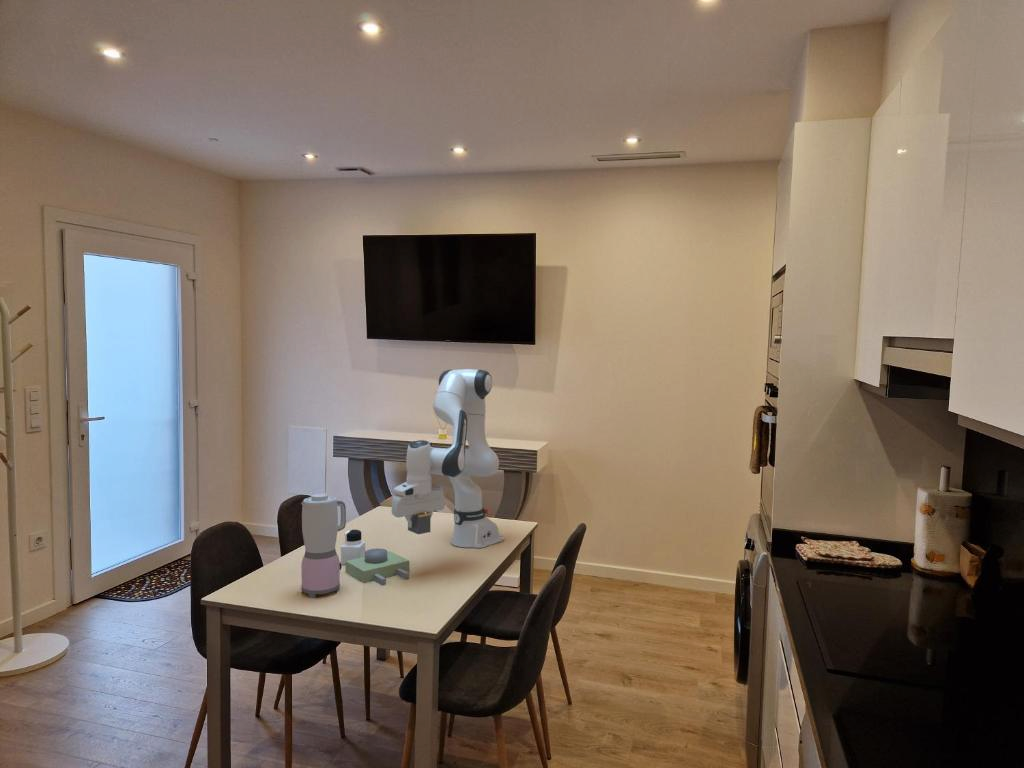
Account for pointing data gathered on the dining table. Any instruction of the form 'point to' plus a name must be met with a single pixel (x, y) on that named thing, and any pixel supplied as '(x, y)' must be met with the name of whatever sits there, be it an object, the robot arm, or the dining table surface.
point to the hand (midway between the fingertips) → (419, 525)
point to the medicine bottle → (352, 546)
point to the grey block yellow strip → (420, 523)
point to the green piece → (378, 566)
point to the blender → (321, 544)
